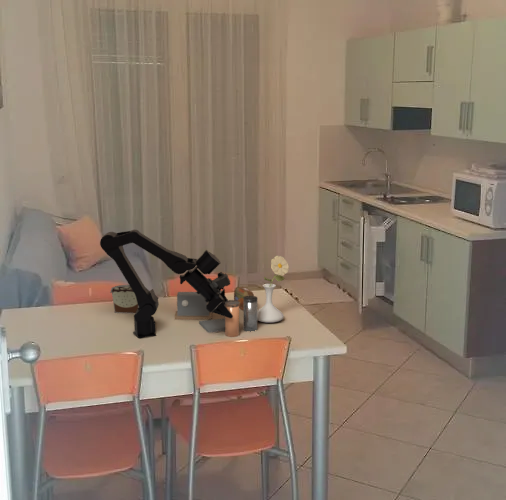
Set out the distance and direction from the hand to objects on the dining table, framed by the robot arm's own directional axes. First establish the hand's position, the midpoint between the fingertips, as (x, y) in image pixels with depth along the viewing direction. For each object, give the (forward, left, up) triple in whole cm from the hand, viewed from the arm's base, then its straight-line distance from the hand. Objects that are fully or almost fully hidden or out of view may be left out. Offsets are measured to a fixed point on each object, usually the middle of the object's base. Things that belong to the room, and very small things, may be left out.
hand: (232, 313), depth 244 cm
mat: (-1, +11, -8) cm, 13 cm away
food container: (-24, +44, -8) cm, 51 cm away
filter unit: (-4, +26, -8) cm, 27 cm away
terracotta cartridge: (0, 0, -8) cm, 8 cm away
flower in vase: (+20, +8, -8) cm, 23 cm away
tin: (+18, +26, -8) cm, 33 cm away
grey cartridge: (+8, +2, -8) cm, 12 cm away
